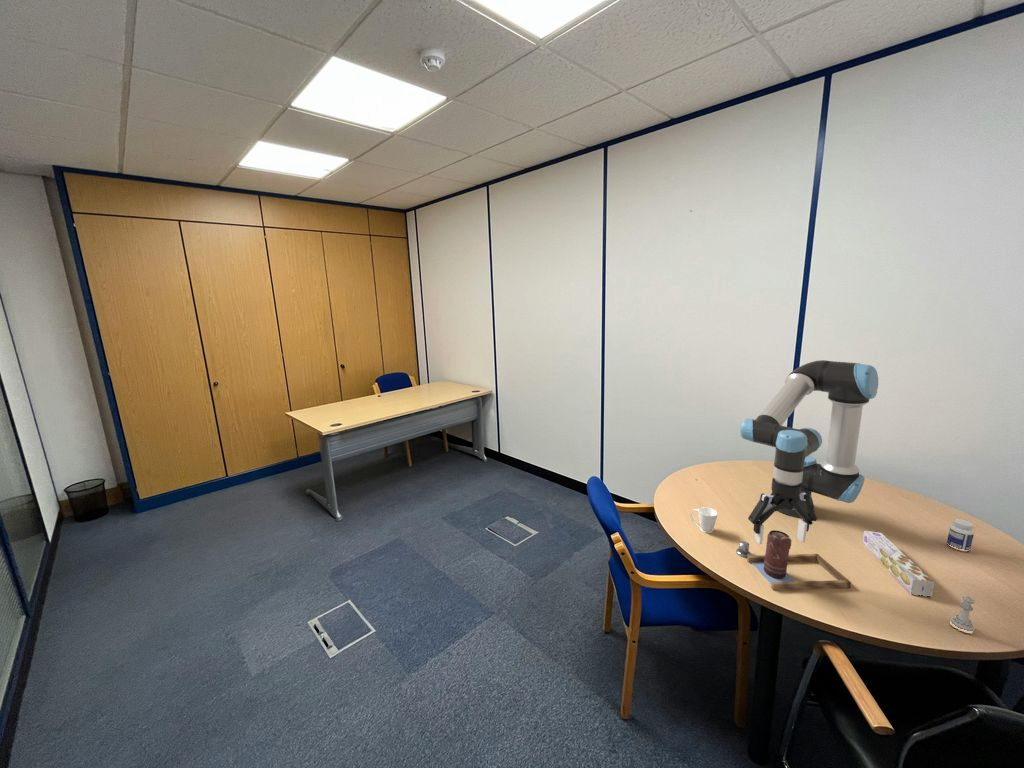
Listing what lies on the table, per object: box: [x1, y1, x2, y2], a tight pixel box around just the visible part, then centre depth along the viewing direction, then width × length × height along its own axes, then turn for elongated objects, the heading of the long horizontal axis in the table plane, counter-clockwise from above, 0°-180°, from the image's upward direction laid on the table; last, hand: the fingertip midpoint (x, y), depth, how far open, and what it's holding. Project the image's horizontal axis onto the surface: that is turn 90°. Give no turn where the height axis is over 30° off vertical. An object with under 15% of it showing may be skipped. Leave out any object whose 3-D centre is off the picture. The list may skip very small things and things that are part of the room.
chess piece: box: [950, 595, 976, 631], centre depth 109 cm, size 4×4×10 cm
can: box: [764, 529, 792, 579], centre depth 130 cm, size 6×6×14 cm
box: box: [862, 530, 935, 597], centre depth 133 cm, size 27×5×6 cm, turn 164°
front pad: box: [751, 562, 796, 585], centre depth 132 cm, size 8×11×1 cm
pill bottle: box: [946, 518, 975, 550], centre depth 142 cm, size 6×6×10 cm
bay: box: [746, 553, 852, 591], centre depth 132 cm, size 24×14×2 cm, turn 90°
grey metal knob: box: [735, 540, 752, 559], centre depth 142 cm, size 4×4×4 cm
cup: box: [689, 506, 718, 534], centre depth 158 cm, size 7×10×8 cm
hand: (779, 540), depth 130 cm, fingers open, 13 cm apart
